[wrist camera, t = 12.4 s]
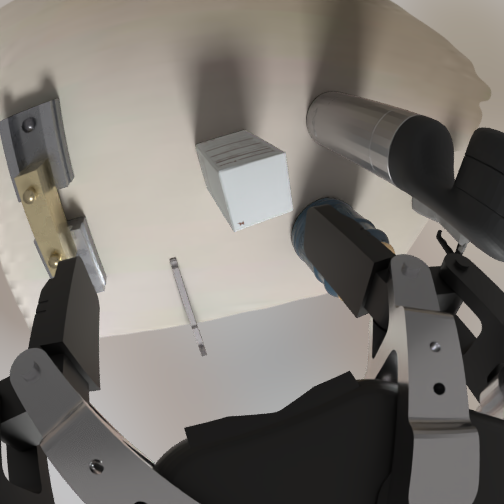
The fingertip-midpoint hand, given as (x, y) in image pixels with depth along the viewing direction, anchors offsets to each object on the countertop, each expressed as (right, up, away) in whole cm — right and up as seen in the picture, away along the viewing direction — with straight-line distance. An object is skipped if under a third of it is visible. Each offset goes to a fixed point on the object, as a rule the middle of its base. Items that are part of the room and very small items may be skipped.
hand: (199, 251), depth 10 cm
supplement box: (-2, +13, +30) cm, 32 cm away
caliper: (-10, -9, +42) cm, 44 cm away
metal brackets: (-25, +7, +23) cm, 35 cm away
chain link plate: (-25, +6, +22) cm, 33 cm away
